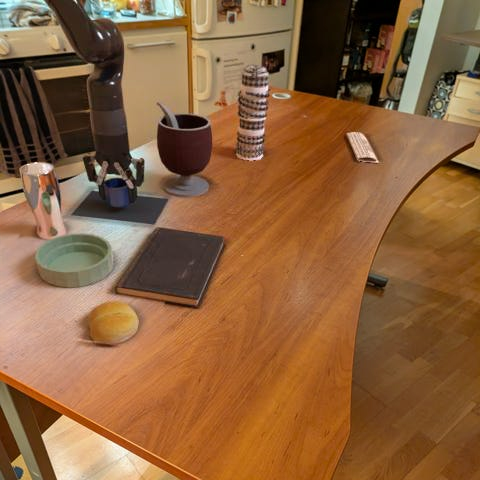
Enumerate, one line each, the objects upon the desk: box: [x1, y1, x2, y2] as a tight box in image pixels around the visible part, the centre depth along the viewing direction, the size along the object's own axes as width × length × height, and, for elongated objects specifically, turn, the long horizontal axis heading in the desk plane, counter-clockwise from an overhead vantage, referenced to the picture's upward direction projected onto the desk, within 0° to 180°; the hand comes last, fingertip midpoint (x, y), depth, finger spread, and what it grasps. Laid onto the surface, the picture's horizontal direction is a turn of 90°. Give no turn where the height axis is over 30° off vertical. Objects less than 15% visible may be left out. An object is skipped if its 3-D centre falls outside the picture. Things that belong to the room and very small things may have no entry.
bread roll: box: [87, 300, 140, 345], centre depth 78 cm, size 8×9×4 cm
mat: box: [70, 190, 169, 225], centre depth 112 cm, size 20×16×1 cm
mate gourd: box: [156, 101, 213, 198], centre depth 118 cm, size 16×14×20 cm
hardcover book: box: [114, 226, 226, 309], centre depth 93 cm, size 16×23×2 cm
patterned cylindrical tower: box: [235, 64, 271, 162], centre depth 136 cm, size 9×9×25 cm
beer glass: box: [19, 161, 67, 240], centre depth 97 cm, size 7×7×15 cm
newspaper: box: [346, 131, 380, 164], centre depth 153 cm, size 24×7×2 cm, turn 178°
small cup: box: [103, 176, 131, 207], centre depth 109 cm, size 6×6×5 cm
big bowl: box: [34, 232, 114, 289], centre depth 91 cm, size 14×14×4 cm
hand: (118, 199), depth 111 cm, fingers closed on small cup, 6 cm apart
